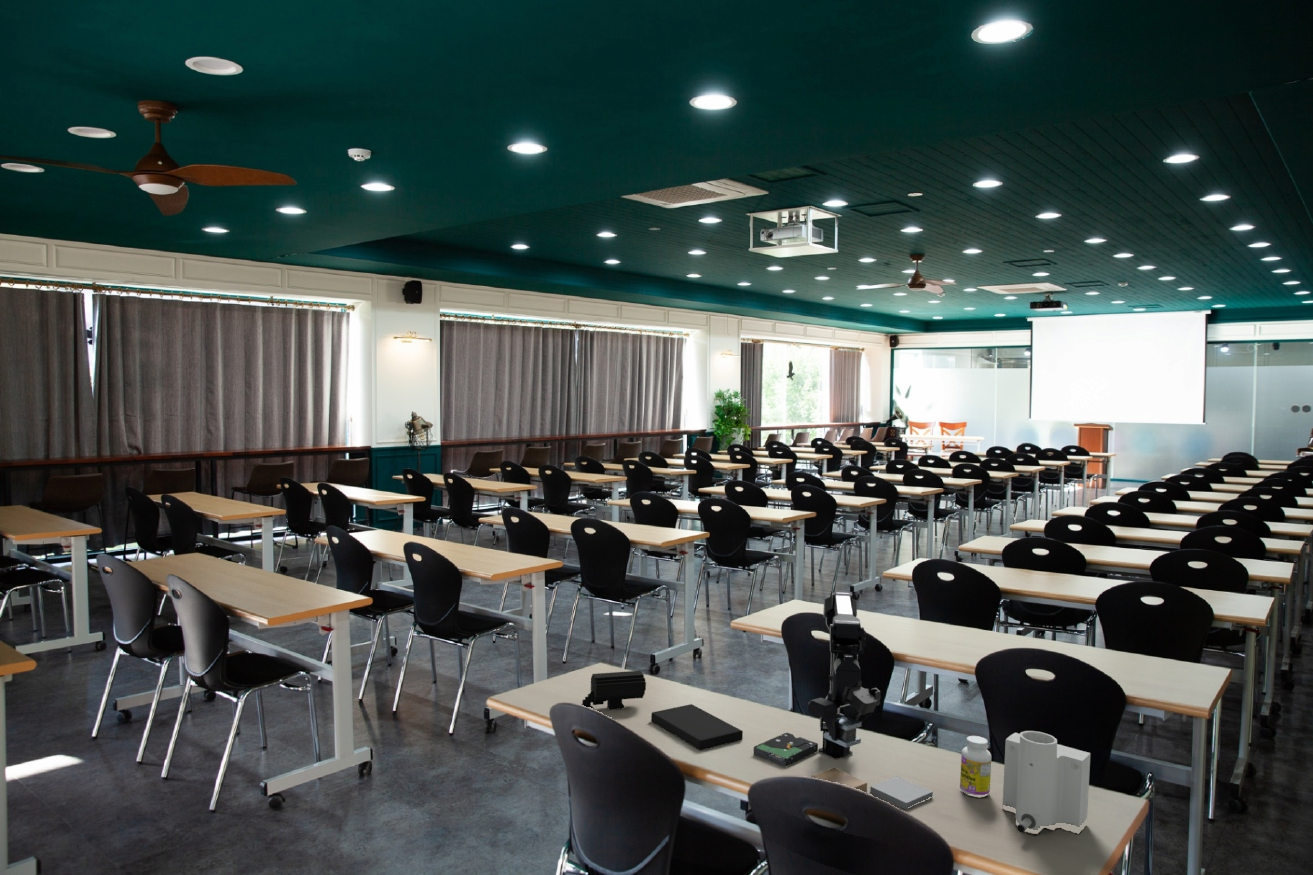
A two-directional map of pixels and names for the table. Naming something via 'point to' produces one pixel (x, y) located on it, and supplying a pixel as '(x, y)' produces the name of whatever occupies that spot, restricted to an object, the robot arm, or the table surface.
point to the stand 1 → (842, 778)
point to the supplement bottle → (975, 767)
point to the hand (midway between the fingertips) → (842, 738)
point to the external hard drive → (696, 727)
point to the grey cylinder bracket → (1045, 781)
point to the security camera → (615, 688)
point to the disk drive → (785, 749)
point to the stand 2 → (900, 792)
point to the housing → (846, 732)
